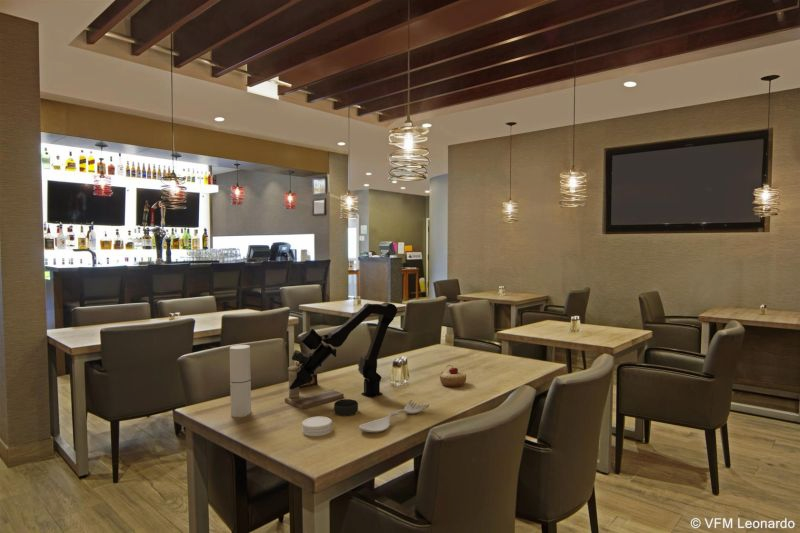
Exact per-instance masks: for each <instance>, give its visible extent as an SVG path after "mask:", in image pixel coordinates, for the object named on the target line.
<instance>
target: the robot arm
mask: <svg viewBox="0 0 800 533" xmlns="http://www.w3.org/2000/svg"><path fill="white" fill-rule="evenodd" d="M397 313H398V308H397V306H396V305H395V304H393V303H391V302H387V301H385V302H383V303H381V304H380V303H368V302H367V303H365V304H364V305H363V306H362V307H361V308H360V309H359V310H358V311H356V313H354V314H353V315H352V316H351V317H350V318H349V319H347V320H346V321H345V322H344V323H343V324H342V325H339V326H338V327H335V328H334V329H333V330H331V331H329V332H328V333H326V334H323V335H322V334H321V335H320V334H318V332H316V330H315V329H314V328H312V327H311V329H309V330H308V331H306V332H305V333H304V334H302V336H301V337H300V340H299V341H300V342H301V343H302V344H303V345H304V346H305V347H306V348H308V350H310V351H312V350H314V351H313V352H312V353H309V354H306V353H305V352H301V351H300V350H297V349H295V350H294V352H293V354H292V356H291V360H292V361H293V362H297V364H298V367H300V369H299V370H298V371H297V377H296V379H295V380H294V381H293V383H292V384H291V386H290V387H289V386H288V390H289V389H291V390H292V389H294V388H297V387H299V386H301V385H304V384H307V383H310V382H311V381H312V380H313V374H314V373H315V370H316V371H317V370H318V368H320V367H321V366H323V363H325V361H326V360H327V359H329V357H330V356H333V357H335V358H336V357H337V350H338V349H336V348H340V347H342V345H343V344H344V343H345V342H346V340H347V339H348V337H349V335H350V334H351V333H352V332H353V331H354V330H355V329H356V328H358V326H360V325H361V323H362V322H364V321H365V320H366V319H367V318H368V317H369V316H371V315H373V314H375V315H377V317H378V318H377V319H378V320H377V324H376V327H375V330H374V333H373V336H372V338H371V342H370V345H369V347H368V350H367V353H366V355H365V356H360V359H359V362H358V363H357V366H358V369H357V370H358V373H360V375H362V376H363V378H364V379H363V392H361V393H360V394H361V395H362V396H365V397H368V398H375V397H378V396H382V395H383V392H381V391H380V390H381V387H380V384H381V380H382V378H383V376H382V375H380V374H379V373H378V372H377V370H378V369H377V368H378V357H379V355H380V351H381V348H382V345H383V342H384V339H385V337H386V333H387V331H388V328H389V325H390V324H392V322H393V321H394V319H395V317H396V316H397ZM331 346H332V347H331ZM333 347H334V348H333ZM299 364H300V365H299Z"/></svg>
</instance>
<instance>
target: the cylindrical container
mask: <svg viewBox="0 0 800 533" xmlns="http://www.w3.org/2000/svg"><path fill="white" fill-rule="evenodd" d="M251 379H252V378H251V345H248V344H236V345H235V344H234V345H232V346H230V347H229V382H230V383H229V386H230V387H229V388H230V416H231V417H232V418H243V417H247V415H248V416H249V415H251V413H252V391H251V390H252V386H251V383H252V382H251V381H252V380H251Z"/></svg>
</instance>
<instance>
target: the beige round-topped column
mask: <svg viewBox="0 0 800 533" xmlns="http://www.w3.org/2000/svg"><path fill="white" fill-rule="evenodd" d="M299 369H300V367H298V366H295V365H294V366H293V365H292V366H288V367H287V371H288V396H287V397H284V403H286V404H289V405H291V401H292V400H296V399H300V398H304V397H305V396H302V395H300V389H299V387H297V388H294V389H292V390H291V389H289V387H290V386H291V384H292V383H293V381H294V380H295V379H296V377H297V371H298V370H299Z"/></svg>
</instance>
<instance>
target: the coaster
mask: <svg viewBox="0 0 800 533" xmlns="http://www.w3.org/2000/svg"><path fill="white" fill-rule="evenodd" d="M301 428H302V430H301V432H302V434H303V435H304V436H307V437H323V436H327V435H329V434H331V433H332V432H333V420H332V419H331V418H329V417H327V416H312V417H308V418H306V419H304V420H303V421H302V423H301Z"/></svg>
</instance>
